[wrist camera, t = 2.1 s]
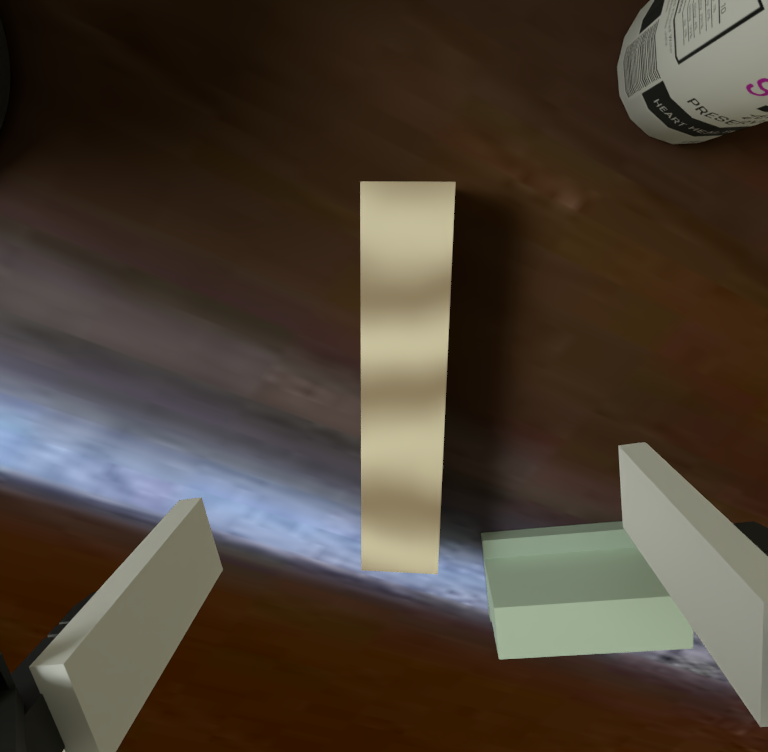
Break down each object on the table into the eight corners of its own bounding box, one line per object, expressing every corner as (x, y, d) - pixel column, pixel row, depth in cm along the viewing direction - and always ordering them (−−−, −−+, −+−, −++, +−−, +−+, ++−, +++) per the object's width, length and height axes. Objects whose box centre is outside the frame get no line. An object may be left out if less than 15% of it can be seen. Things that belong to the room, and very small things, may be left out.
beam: (435, 530, 38) (437, 574, 33) (368, 527, 38) (361, 570, 33) (450, 189, 31) (455, 181, 26) (369, 188, 32) (360, 181, 27)
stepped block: (488, 612, 39) (500, 677, 33) (480, 532, 37) (492, 588, 31) (650, 601, 38) (692, 667, 32) (650, 518, 36) (695, 573, 30)
